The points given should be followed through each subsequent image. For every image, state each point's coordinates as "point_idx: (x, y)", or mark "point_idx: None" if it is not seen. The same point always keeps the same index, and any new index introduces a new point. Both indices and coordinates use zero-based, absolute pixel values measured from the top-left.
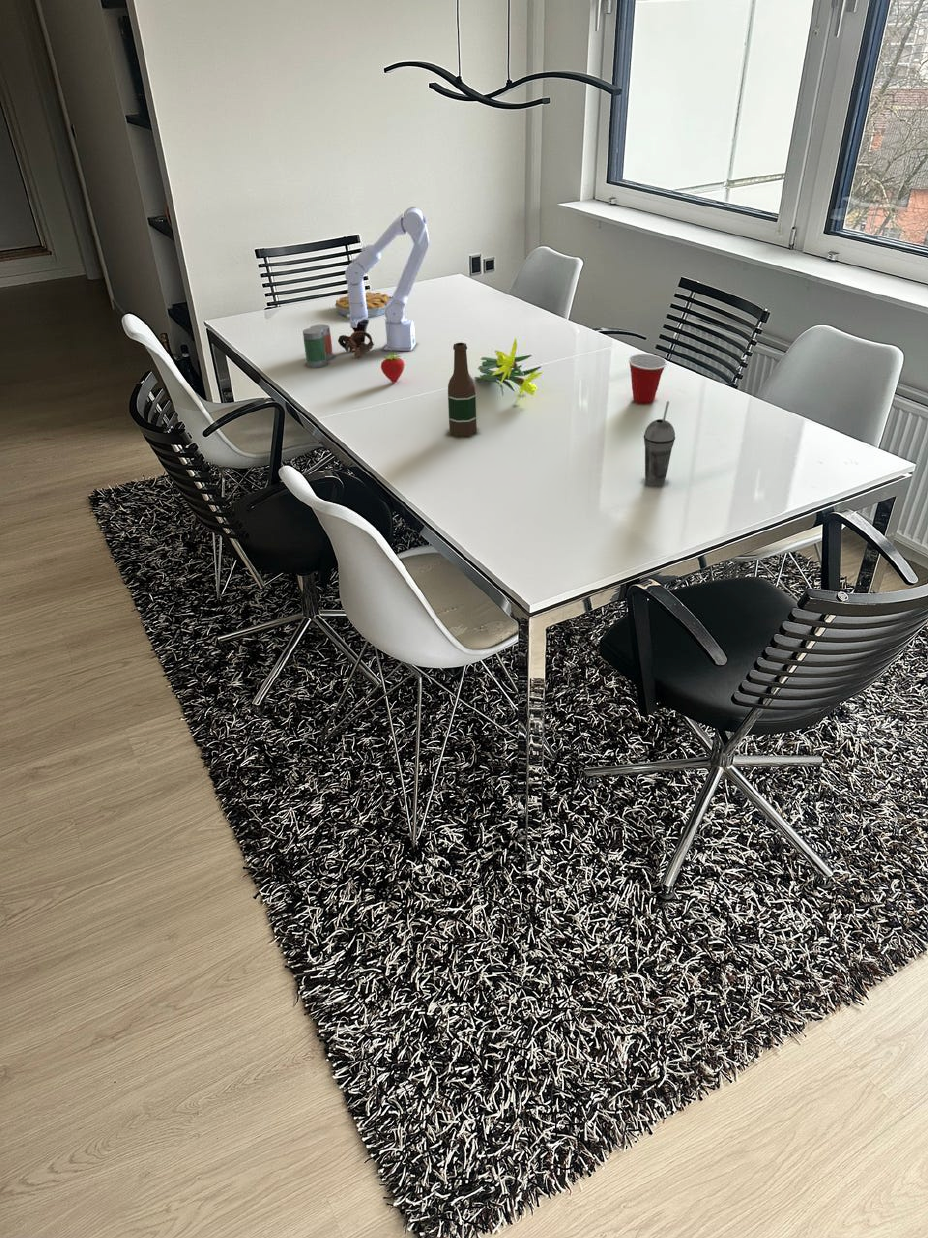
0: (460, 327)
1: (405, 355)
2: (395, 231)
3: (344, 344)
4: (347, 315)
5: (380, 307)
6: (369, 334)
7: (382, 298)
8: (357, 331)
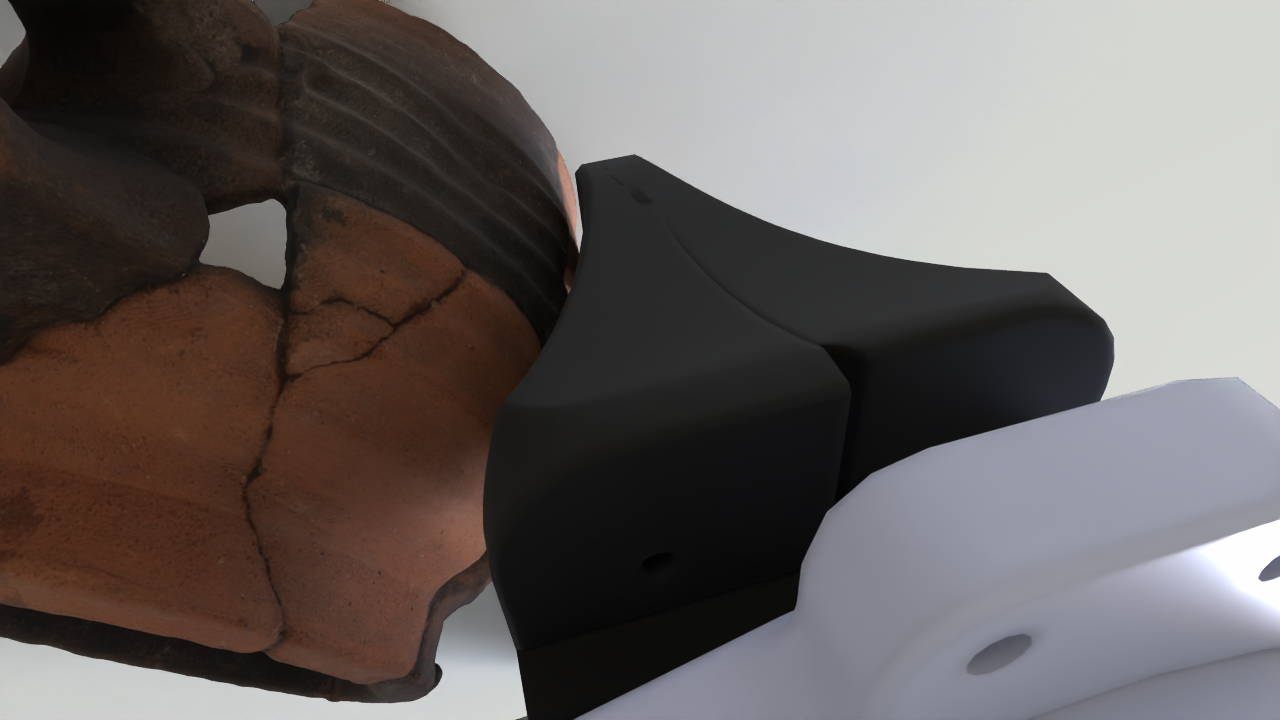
0: None
1: (457, 705)
2: None
3: (45, 4)
4: (1019, 619)
5: None
6: (410, 699)
7: None
8: (256, 637)
